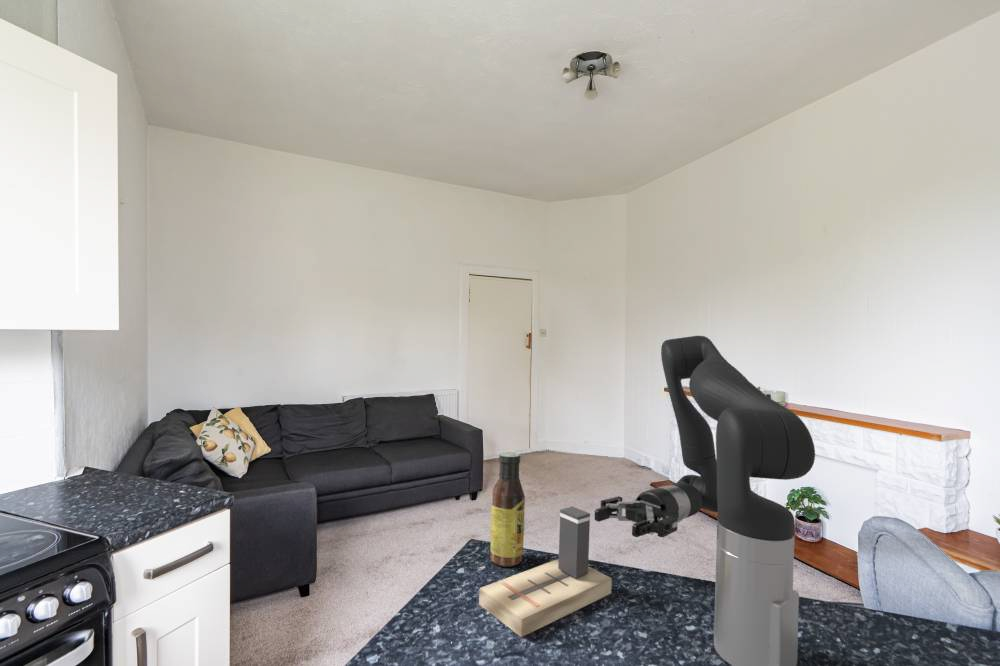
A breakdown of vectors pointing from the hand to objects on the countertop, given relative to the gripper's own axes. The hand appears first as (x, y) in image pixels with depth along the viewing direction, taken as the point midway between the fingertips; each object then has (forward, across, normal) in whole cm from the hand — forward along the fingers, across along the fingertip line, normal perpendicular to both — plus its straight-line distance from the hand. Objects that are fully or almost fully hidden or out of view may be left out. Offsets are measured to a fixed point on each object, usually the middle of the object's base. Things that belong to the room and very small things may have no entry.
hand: (614, 523), depth 86 cm
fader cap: (+11, 0, +6) cm, 12 cm away
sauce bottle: (+14, -14, +9) cm, 22 cm away
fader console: (+17, 0, +8) cm, 19 cm away
